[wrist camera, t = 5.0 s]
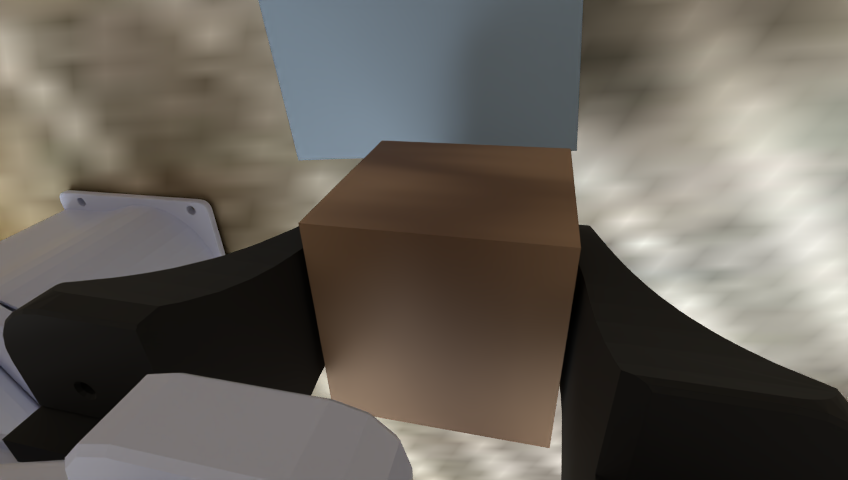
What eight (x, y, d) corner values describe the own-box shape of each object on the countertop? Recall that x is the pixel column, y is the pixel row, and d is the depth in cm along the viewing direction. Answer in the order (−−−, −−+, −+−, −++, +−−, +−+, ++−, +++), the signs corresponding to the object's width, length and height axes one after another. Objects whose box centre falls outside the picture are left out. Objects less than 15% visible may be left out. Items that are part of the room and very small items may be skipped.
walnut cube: (393, 288, 15) (333, 408, 11) (381, 140, 13) (298, 223, 9) (550, 306, 14) (549, 447, 10) (570, 148, 12) (581, 248, 8)
